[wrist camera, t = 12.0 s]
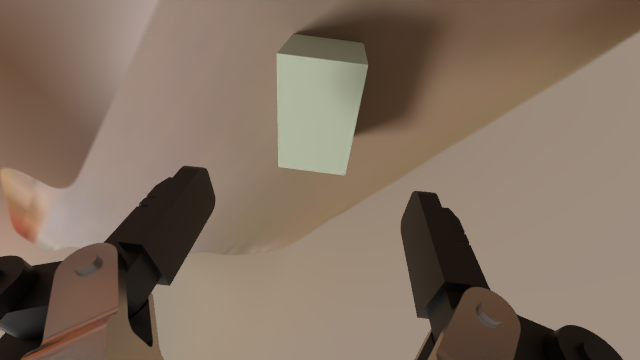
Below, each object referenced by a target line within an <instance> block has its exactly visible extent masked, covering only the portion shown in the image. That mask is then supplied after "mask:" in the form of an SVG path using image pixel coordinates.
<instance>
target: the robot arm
mask: <svg viewBox="0 0 640 360" xmlns="http://www.w3.org/2000/svg"><path fill="white" fill-rule="evenodd" d="M214 206H215V194H214V191H213V187H212V184H211V181H210V177H209V174H208V171H207V169H206V168H202V167H193V166H183V167H182V168H181V169H180V170H179V171H178V172H177V173H176V174H175V176H174V177H173V178H171V177H169V178H167V179H166V180H164V181H162V182H161V183H159V184H158V185H156V186H155V187H154V188H153V189H152V190H151V191H150V193H149V194H148V195H147V197H146V198H144V199H143V200H142V201H141V202H140V204H139V206H138V207H136V208H135V209H134V210H133V211H132V212H131V213H130V214H129V216H128V217H127V218H126V219H125V220H124V221H123V222H122V223H121V224H120V225H119V227H118V228H117V229H116V230H115V231H114V232H113V233H112V234H111V235H110V236H109V237H108V239H107V240H106V241H105V242H104V243H96V244H92V245H88V246H86V247H83V248H81V249H79V250H77V251H75V252H74V253H73V254H71V255H69V256H68V257H67V258H66V259H65V260H64V261H59V262H53V263H47V264H41V265H35V266H31V265H29V264H28V263H27V262H26V261H24V260H23V259H22V258H20V257H18V256H3V257H0V330H2V331H4V332H6V333H5V334H4V335H3V336H2V337H1V338H0V360H164V359H163V357H162V355H161V352H160V348H159V341H158V333H157V324H156V317H155V308H154V300H153V295H152V293H151V292H152V290H153V289H154V287H155V286H156V284H161V285H169V286H170V284H171V283H172V281H173V279H174V277H175V276H176V274H177V272H178V270H179V269H180V267H181V265H182V264H183V262H184V260H185V258H186V257H187V255H188V253H189V251H190V250H191V248H192V246H193V245H194V243H195V241H196V239H197V238H198V236H199V234H200V232H201V231H202V229H203V227H204V225H205V224H206V222H207V220H208V219H209V217H210V215H211V213H212V212H213V209H214ZM401 235H402V240H403V245H404V251H405V256H406V261H407V266H408V271H409V276H410V281H411V287H412V292H413V296H414V302H415V307H416V313H417V317H419V318H427V319H429V320H430V325H431V330H430V331H429V333H428V334H427V336H426V338H425V340H424V342H423V344H422V346H421V348H420V350H419V352H418V354H417V356H416V357H415V359H414V360H623V359H622V358H621V356H620V355H619V354H618V353H617V352H616V351H615V350H614V349H613V348H612V347H611V346H610V345H609V344H608V343H607V342H606V341H604V340H603V339H602V338H600V337H599V336H598V335H595V334H594V333H592V332H591V331H589V330H587V329H584V328H582V327H579V326H575V325H567V326H564V327H562V328H560V329H558V330H556V331H554V330H552V329H549V328H547V327H545V326H542V325H540V324H537V323H535V322H533V321H530V320H528V319H526V318H523V317H521V316H519V315H517V314H516V313H515V311H514V310H513V308H512V307H511V306H510V305H509V304H508V302H507V301H505V300H504V299H503V298H502V297H501V296H499V295H498V294H496V293H495V292H493V291H491V290H490V288H489V286H488V284H487V282H486V280H485V277H484V275H483V273H482V271H481V268H480V266H479V264H478V261H477V259H476V257H475V254H474V252H473V250H472V248H471V246H470V245H469V241H468V239H467V237H466V235H465V234H464V230H463V228H462V225H461V223H460V220H459V219H458V218H457V217H456V216H455V215H454V213H453V212H452V211H451V210H450V209H449V208H442V206H441V204H440V201H439V199H438V196H437V194H436V193H431V192H420V191H414V192H413V193H412V195H411V197H410V200H409V202H408V204H407V207H406V209H405V212H404V214H403V217H402V221H401Z"/></svg>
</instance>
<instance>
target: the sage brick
mask: <svg viewBox="0 0 640 360" xmlns="http://www.w3.org/2000/svg"><path fill="white" fill-rule="evenodd" d="M367 69H368V61H367V56H366V52H365V47H364V43H361V42H353V41H346V40H338V39H330V38H322V37H314V36H307V35H299V34H293V35H292V36H291V37H290V38H289V40H288V41H287V42H286V43H285V44H284V45H283V47H282V48H281V49H280V50H279V51H278V52H277V103H278V167H284V168H292V169H299V170H307V171H315V172H322V173H330V174H338V175H345V173H346V169H347V164H348V159H349V155H350V150H351V145H352V140H353V136H354V131H355V126H356V121H357V117H358V112H359V107H360V102H361V98H362V93H363V88H364V83H365V79H366V74H367Z"/></svg>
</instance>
